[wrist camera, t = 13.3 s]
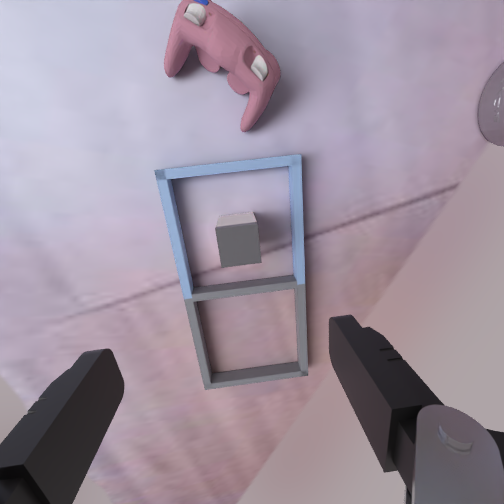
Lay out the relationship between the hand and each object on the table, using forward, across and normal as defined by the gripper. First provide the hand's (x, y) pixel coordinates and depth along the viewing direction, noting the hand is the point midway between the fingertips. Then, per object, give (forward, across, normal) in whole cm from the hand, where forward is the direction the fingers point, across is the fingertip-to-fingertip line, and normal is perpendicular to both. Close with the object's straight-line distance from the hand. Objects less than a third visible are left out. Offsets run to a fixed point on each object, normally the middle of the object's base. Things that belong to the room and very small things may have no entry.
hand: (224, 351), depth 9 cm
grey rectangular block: (+21, -1, +1) cm, 21 cm away
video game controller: (+21, -1, -14) cm, 26 cm away
